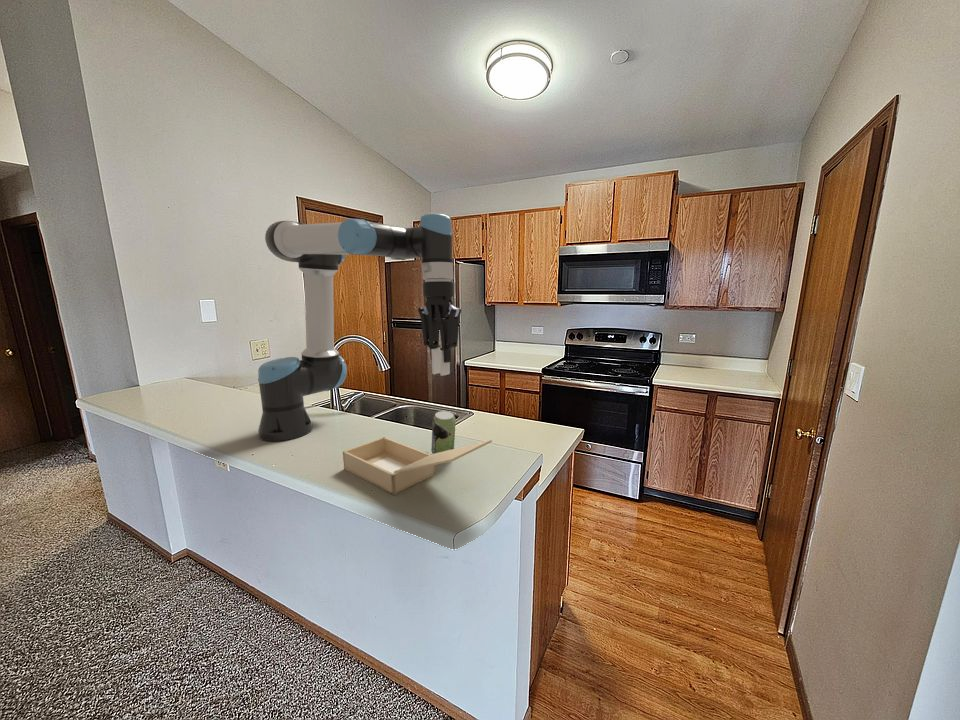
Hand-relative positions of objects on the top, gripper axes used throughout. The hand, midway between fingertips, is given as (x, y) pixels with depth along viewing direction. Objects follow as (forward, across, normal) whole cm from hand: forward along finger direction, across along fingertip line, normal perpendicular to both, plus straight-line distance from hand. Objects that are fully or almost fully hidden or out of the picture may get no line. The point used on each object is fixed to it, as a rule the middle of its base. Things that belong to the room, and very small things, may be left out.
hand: (441, 373), depth 97 cm
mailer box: (+22, -4, -15) cm, 27 cm away
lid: (+13, +15, -15) cm, 25 cm away
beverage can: (+23, 0, 0) cm, 23 cm away
